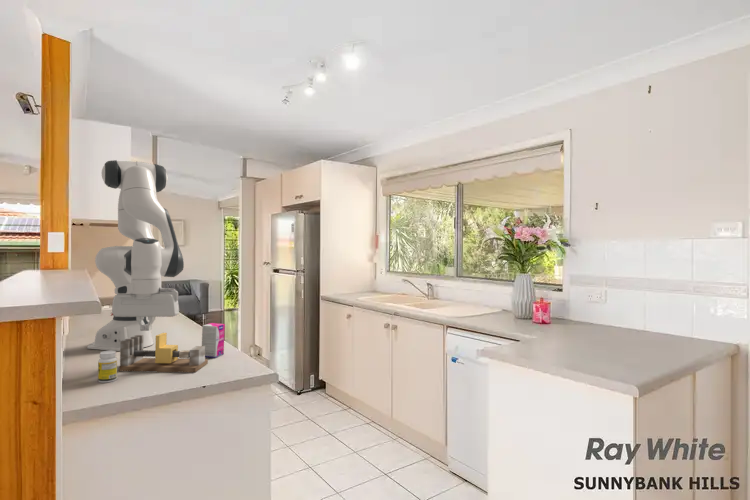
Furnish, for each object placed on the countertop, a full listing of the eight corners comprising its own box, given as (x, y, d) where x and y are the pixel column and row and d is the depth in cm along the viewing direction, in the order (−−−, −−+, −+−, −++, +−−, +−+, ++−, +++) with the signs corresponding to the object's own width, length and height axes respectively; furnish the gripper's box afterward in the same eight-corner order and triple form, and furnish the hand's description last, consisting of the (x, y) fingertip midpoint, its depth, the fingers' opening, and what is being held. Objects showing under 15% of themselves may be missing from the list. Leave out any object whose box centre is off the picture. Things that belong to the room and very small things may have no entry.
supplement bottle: (100, 378, 125) (100, 350, 125) (118, 377, 127) (118, 349, 127) (96, 383, 121) (96, 354, 121) (115, 382, 123) (115, 353, 122)
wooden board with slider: (119, 371, 133) (119, 341, 133) (136, 362, 143) (137, 334, 143) (195, 372, 133) (195, 342, 133) (207, 363, 143) (208, 335, 143)
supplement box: (215, 358, 150) (216, 326, 150) (200, 357, 151) (201, 325, 151) (224, 354, 155) (225, 323, 155) (210, 353, 157) (210, 322, 156)
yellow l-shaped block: (155, 363, 136) (155, 335, 135) (162, 359, 140) (163, 332, 140) (170, 363, 136) (171, 336, 136) (177, 359, 140) (178, 332, 140)
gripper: (182, 287, 141) (182, 328, 141) (121, 286, 141) (120, 328, 140) (173, 288, 134) (173, 332, 134) (109, 288, 134) (108, 332, 134)
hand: (145, 330), depth 137 cm, fingers closed
